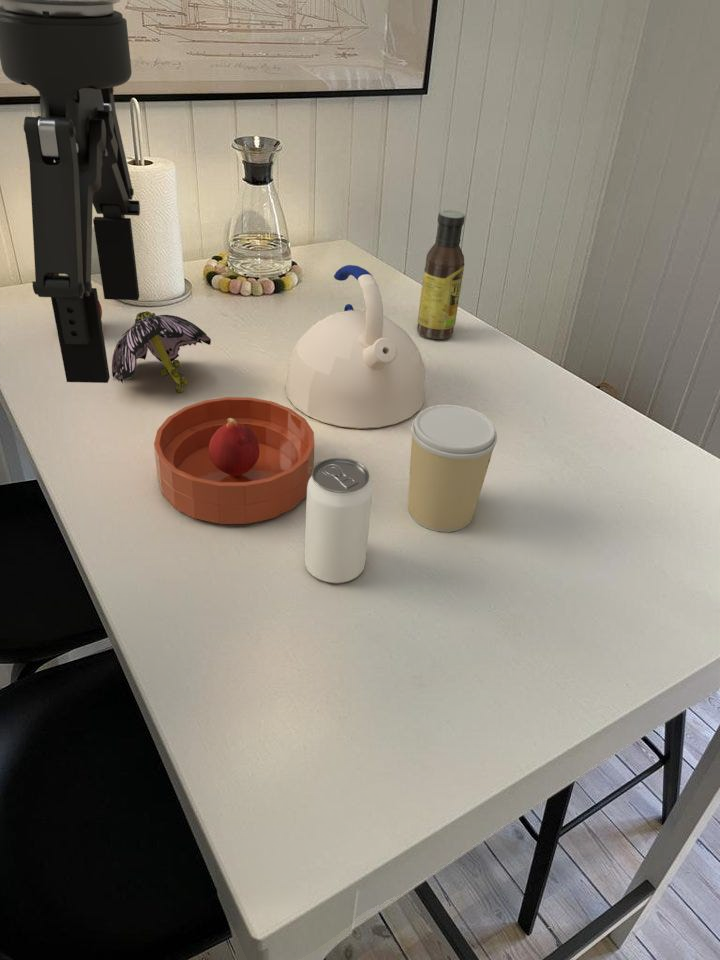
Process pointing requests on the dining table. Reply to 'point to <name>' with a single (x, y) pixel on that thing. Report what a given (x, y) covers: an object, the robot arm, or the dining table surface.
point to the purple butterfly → (155, 344)
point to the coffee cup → (448, 465)
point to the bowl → (245, 496)
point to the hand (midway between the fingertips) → (106, 335)
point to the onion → (234, 448)
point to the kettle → (357, 365)
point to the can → (337, 520)
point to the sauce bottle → (442, 279)
